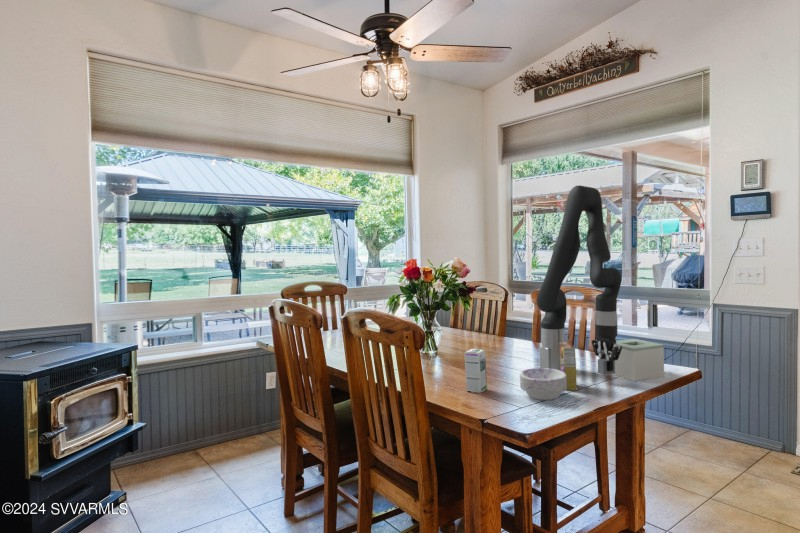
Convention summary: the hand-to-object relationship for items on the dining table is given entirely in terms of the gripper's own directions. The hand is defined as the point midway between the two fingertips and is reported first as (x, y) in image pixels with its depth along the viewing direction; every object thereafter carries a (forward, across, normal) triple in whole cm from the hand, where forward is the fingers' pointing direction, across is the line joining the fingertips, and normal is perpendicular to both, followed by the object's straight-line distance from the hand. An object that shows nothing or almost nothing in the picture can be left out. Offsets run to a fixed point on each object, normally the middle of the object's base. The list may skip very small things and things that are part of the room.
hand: (606, 369), depth 176 cm
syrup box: (+6, -12, -47) cm, 48 cm away
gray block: (+1, 0, 0) cm, 1 cm away
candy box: (+5, -1, -15) cm, 16 cm away
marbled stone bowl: (+5, +4, -29) cm, 30 cm away
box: (+5, -4, +17) cm, 18 cm away
